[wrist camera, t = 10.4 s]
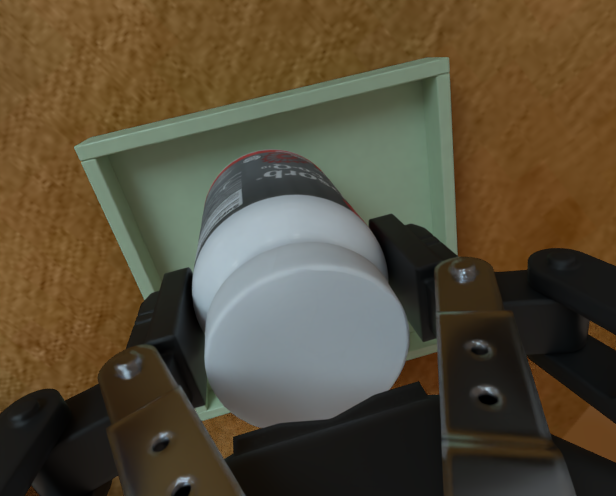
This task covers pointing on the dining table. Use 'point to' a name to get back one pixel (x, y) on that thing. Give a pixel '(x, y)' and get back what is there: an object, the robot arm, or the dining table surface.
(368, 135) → the tray
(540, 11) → the dining table surface
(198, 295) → the pill bottle
